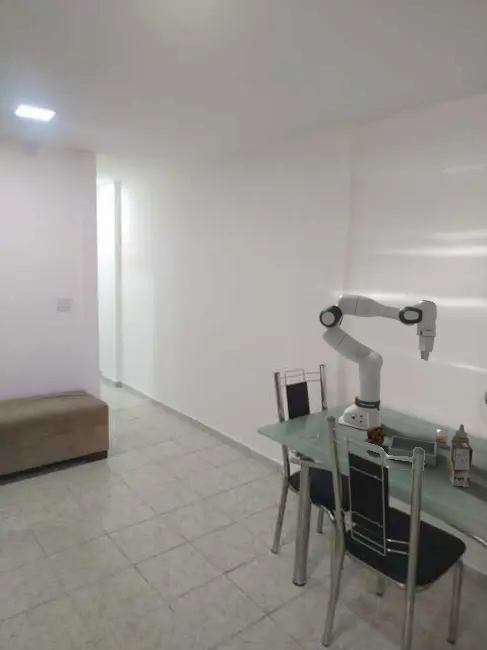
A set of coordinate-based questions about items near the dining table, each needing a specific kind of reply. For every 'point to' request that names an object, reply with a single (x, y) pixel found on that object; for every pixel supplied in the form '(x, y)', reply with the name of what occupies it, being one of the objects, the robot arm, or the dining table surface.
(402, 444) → the box
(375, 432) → the wooden carving
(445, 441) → the grey capped jar
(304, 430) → the dining table surface
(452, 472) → the coffee box
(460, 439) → the squeeze bottle
